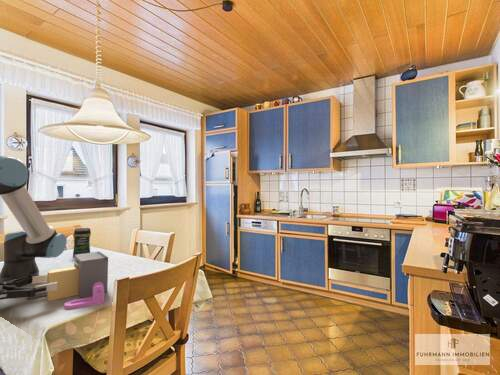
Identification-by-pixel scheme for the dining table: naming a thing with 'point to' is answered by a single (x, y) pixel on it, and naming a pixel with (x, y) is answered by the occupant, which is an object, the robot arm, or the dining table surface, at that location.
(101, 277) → the dispenser
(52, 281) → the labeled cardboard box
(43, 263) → the dining table surface
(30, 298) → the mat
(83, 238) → the coffee jar
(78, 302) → the bracket
